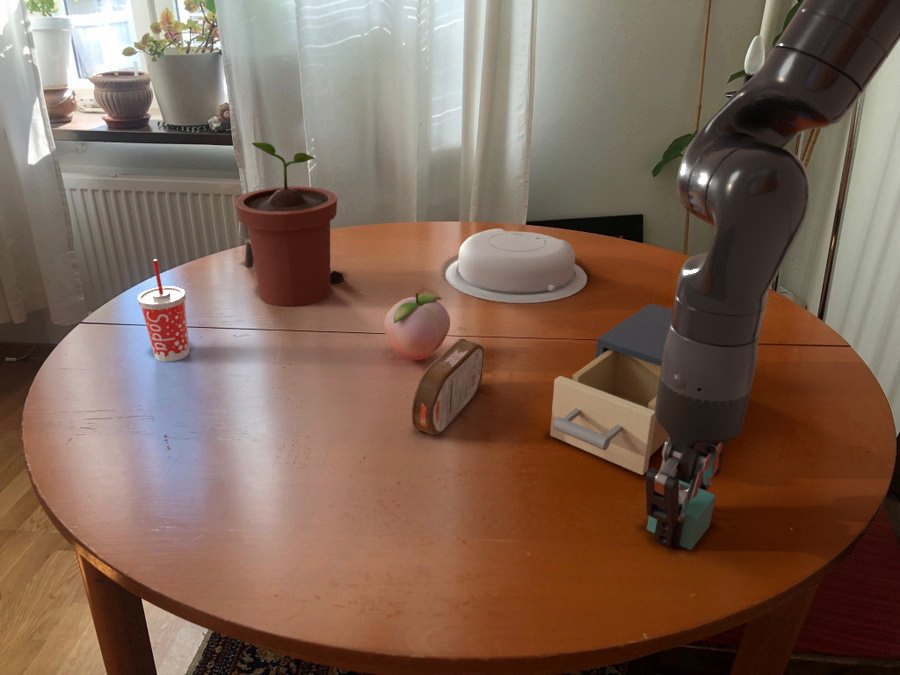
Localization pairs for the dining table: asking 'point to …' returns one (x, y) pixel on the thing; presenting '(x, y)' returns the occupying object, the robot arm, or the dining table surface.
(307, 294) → the potted plant
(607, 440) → the drawer
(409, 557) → the dining table surface
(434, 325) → the decorative fruit
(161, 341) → the beverage cup
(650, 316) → the cabinet
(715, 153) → the robot arm
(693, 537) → the block
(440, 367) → the tin
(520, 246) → the round ceiling alarm
